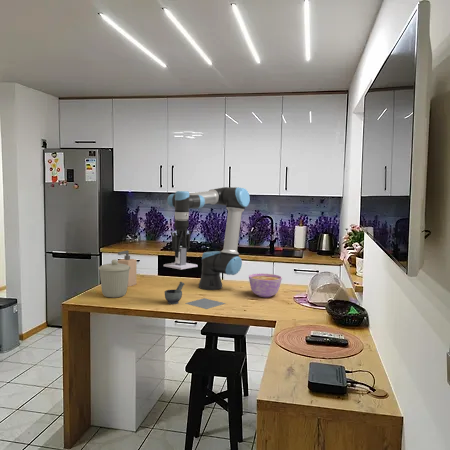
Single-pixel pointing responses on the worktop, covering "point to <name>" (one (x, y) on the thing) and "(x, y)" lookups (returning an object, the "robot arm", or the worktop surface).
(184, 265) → the cover board
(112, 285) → the canister
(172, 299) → the mortar and pestle
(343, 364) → the worktop surface
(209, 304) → the mat
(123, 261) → the soap dispenser
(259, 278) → the bowl of food
